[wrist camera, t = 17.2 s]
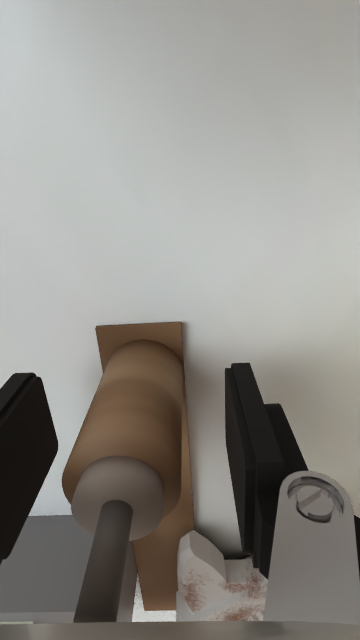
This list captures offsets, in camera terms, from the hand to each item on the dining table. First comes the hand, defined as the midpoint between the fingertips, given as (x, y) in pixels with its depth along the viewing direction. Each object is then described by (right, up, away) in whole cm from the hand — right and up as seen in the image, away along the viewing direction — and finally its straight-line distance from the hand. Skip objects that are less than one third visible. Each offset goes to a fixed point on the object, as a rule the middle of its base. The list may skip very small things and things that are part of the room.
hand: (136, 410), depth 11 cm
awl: (0, +1, +2) cm, 2 cm away
